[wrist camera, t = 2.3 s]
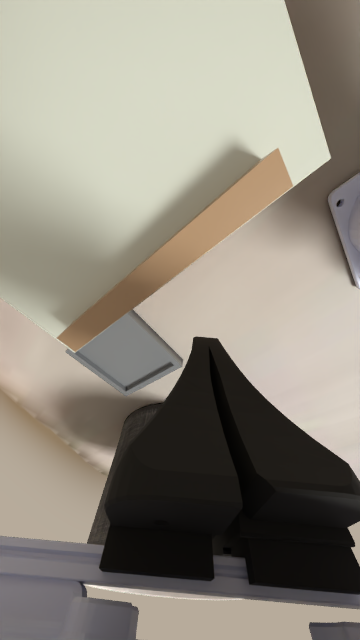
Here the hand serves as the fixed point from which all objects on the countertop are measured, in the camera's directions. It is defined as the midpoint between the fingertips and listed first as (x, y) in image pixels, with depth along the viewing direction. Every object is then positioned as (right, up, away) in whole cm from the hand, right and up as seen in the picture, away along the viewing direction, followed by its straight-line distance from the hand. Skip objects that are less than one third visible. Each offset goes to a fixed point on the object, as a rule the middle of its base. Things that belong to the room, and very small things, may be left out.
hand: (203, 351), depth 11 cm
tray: (-8, -2, +13) cm, 15 cm away
